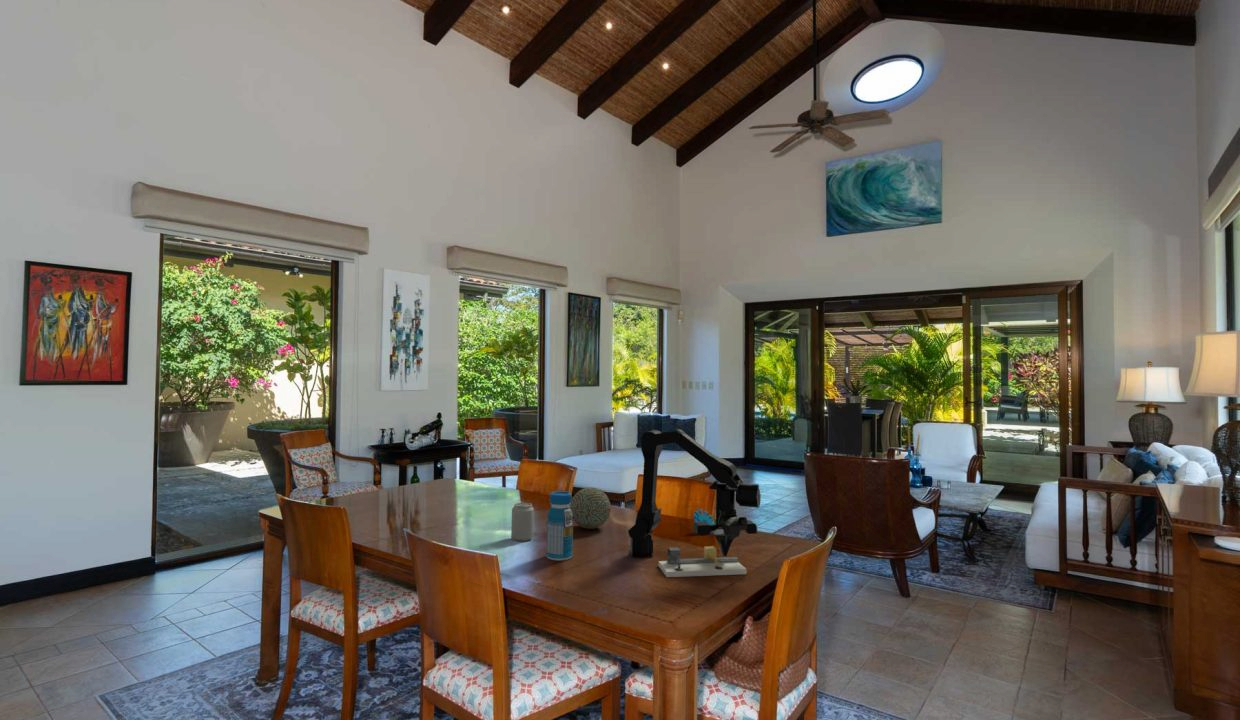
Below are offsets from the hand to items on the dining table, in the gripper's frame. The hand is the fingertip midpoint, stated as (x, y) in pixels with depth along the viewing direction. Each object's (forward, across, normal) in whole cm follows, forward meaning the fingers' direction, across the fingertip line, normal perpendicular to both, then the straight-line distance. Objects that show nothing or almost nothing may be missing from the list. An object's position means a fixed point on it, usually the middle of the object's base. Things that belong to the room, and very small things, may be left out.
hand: (724, 556), depth 192 cm
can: (+3, -60, +36) cm, 70 cm away
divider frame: (+2, -7, -2) cm, 7 cm away
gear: (+3, +7, +40) cm, 41 cm away
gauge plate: (+3, -8, -2) cm, 9 cm away
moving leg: (+1, -4, -2) cm, 5 cm away
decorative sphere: (+3, -35, +48) cm, 60 cm away
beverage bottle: (+3, -49, +14) cm, 51 cm away
